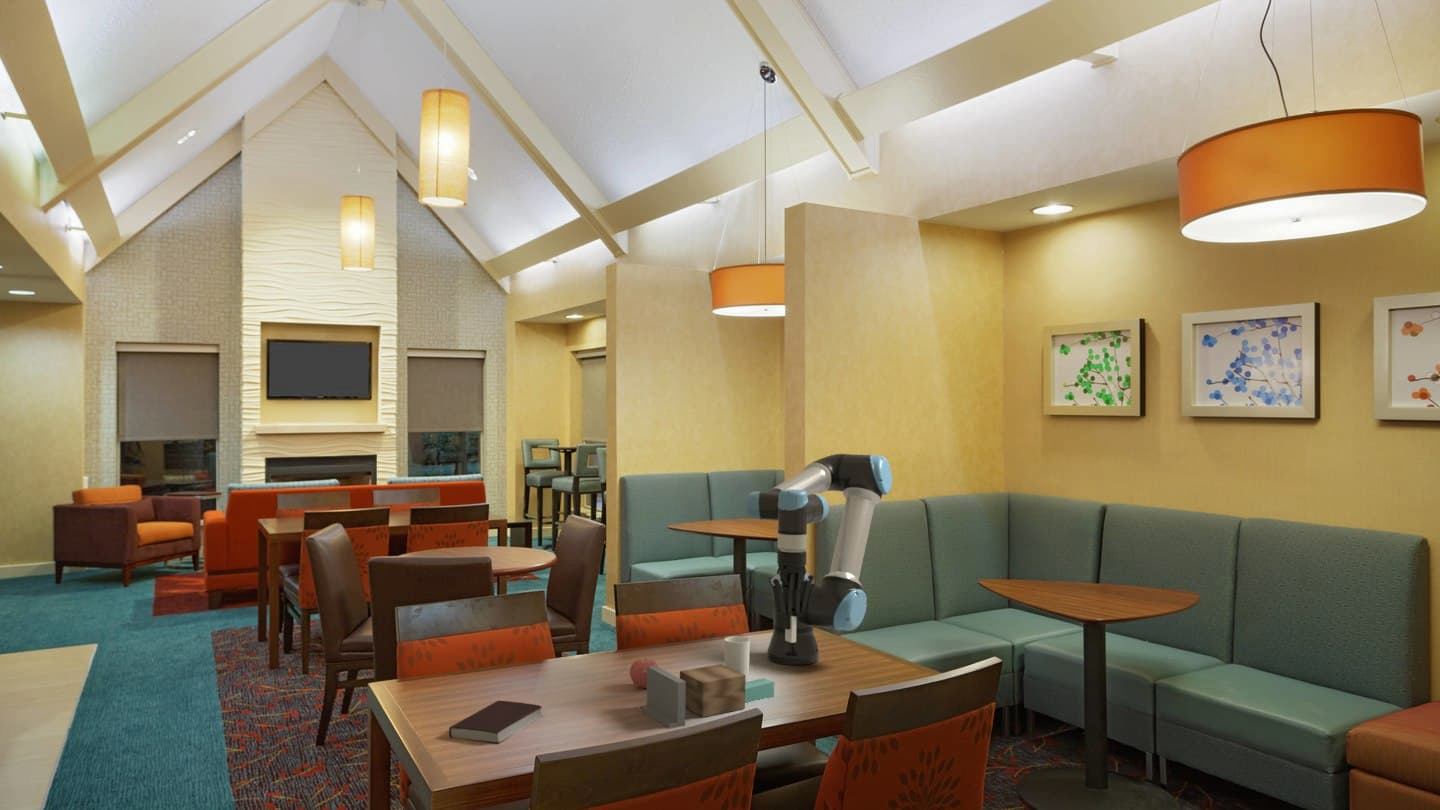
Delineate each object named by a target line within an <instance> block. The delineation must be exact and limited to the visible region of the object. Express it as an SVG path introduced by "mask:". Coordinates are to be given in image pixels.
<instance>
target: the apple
mask: <svg viewBox="0 0 1440 810" xmlns="http://www.w3.org/2000/svg"><path fill="white" fill-rule="evenodd" d="M654 665H655V666H657V667H659V665H658V663H657V662H656V661H655V660H654V659H652V658H651V659H650V658H647V657H645V658H640V659H639V658H638V659H637V660H635V661H634V662H633V663H632V664H631V666H630V668H629V669H630V670H629V676H630V679H631V680H632V683H633V684H634V685H635V686H636V687H638V688H640V689H647V667H648V666H654Z"/></svg>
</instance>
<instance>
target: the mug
mask: <svg viewBox="0 0 1440 810" xmlns="http://www.w3.org/2000/svg"><path fill="white" fill-rule="evenodd" d="M750 640H751V639H750V638H748V637H745V636H741V635H739V636H736V635H735V636H728V637H725V638H724V642H723V644H724V657H723V658H724V666H726V667H728V668H731V669H733V670H735V671H737V672H739V673H742V674H744V675H745V682H750V681H749V680H750V679H749V676H750V649H751V647H750V646H751V643H750V642H751V641H750Z"/></svg>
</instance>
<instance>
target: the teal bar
mask: <svg viewBox="0 0 1440 810" xmlns="http://www.w3.org/2000/svg"><path fill="white" fill-rule="evenodd" d="M774 697H775V681H773V680H770V679H767V678H764V677H763V678H758V679H755V680H754V679H753V680H750V681H748V682H745V703H747V704H749V703H748V702H751V701H755V700H759V701H761V700H760V699H763V700H765V699H764V698H767V699H770V698H774ZM755 702H756V701H755ZM751 703H752V702H751Z"/></svg>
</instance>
